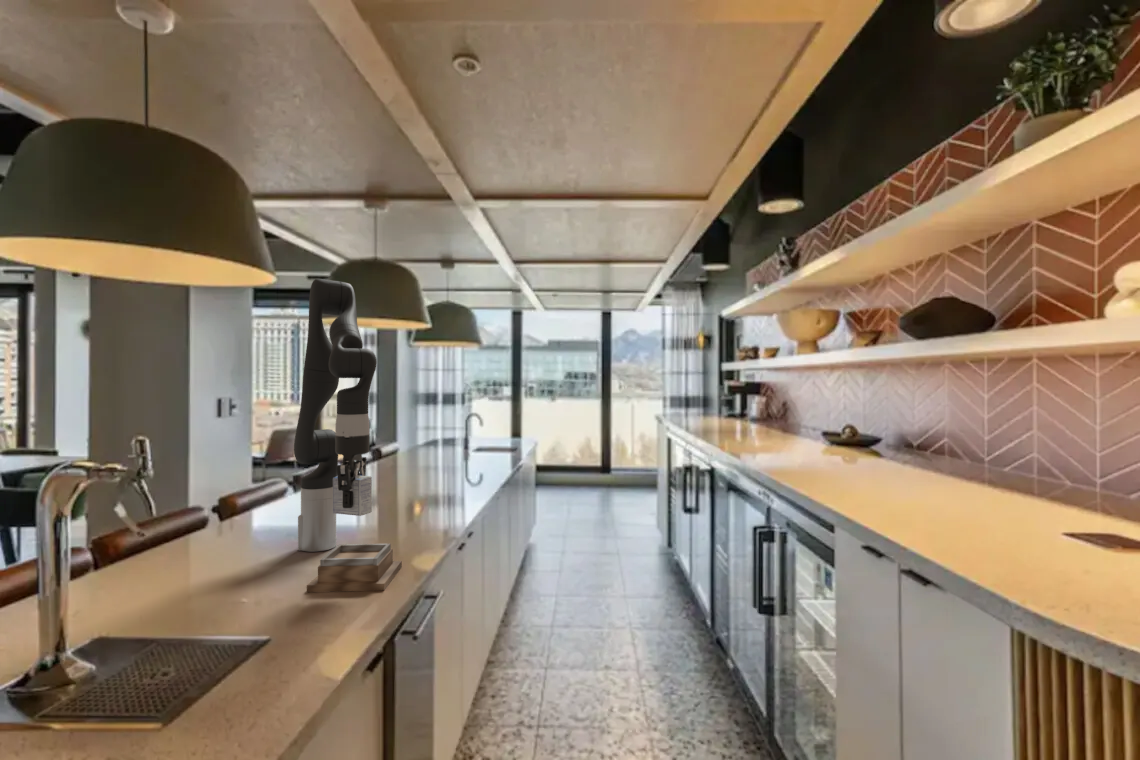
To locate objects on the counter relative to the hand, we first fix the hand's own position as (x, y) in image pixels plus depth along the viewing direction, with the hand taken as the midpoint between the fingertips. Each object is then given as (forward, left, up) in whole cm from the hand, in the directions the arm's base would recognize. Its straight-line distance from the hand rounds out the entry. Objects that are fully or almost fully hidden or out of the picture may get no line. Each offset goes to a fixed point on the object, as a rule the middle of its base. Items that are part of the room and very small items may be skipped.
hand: (352, 504), depth 141 cm
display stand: (+1, +1, -18) cm, 18 cm away
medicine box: (0, 0, -2) cm, 2 cm away
